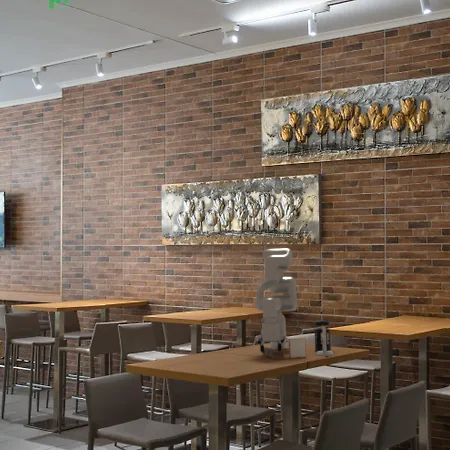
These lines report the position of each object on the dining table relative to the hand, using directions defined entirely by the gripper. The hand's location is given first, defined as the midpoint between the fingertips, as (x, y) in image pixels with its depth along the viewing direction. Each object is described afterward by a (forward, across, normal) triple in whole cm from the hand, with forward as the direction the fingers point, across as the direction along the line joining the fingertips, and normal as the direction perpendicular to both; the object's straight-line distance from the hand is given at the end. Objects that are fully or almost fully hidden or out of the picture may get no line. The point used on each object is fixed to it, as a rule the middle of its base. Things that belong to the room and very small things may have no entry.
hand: (271, 352), depth 409 cm
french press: (+2, +34, +10) cm, 36 cm away
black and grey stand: (+3, +29, -6) cm, 30 cm away
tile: (+3, +12, -9) cm, 15 cm away
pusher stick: (+3, 0, 0) cm, 3 cm away
